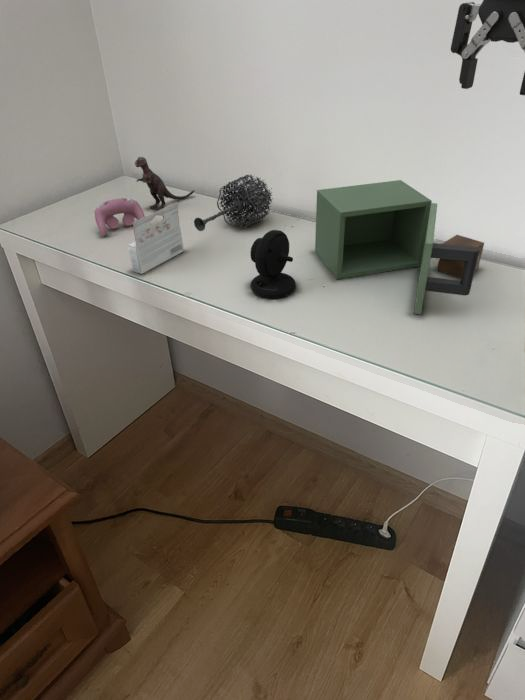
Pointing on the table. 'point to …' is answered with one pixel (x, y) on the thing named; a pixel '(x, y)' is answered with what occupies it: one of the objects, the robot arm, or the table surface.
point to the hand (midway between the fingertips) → (494, 91)
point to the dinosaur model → (156, 185)
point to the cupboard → (370, 228)
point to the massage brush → (241, 202)
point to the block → (455, 265)
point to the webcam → (272, 265)
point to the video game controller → (116, 207)
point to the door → (444, 252)
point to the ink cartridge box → (156, 239)
